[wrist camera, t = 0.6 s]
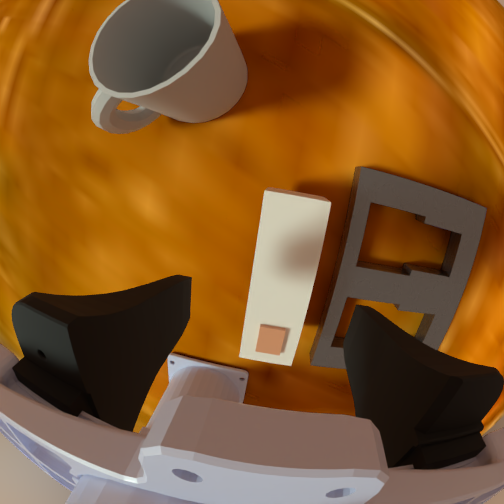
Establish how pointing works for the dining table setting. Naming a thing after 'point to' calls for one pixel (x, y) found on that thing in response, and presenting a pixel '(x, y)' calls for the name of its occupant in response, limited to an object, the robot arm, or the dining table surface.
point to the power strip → (283, 273)
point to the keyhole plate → (410, 276)
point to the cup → (165, 64)
